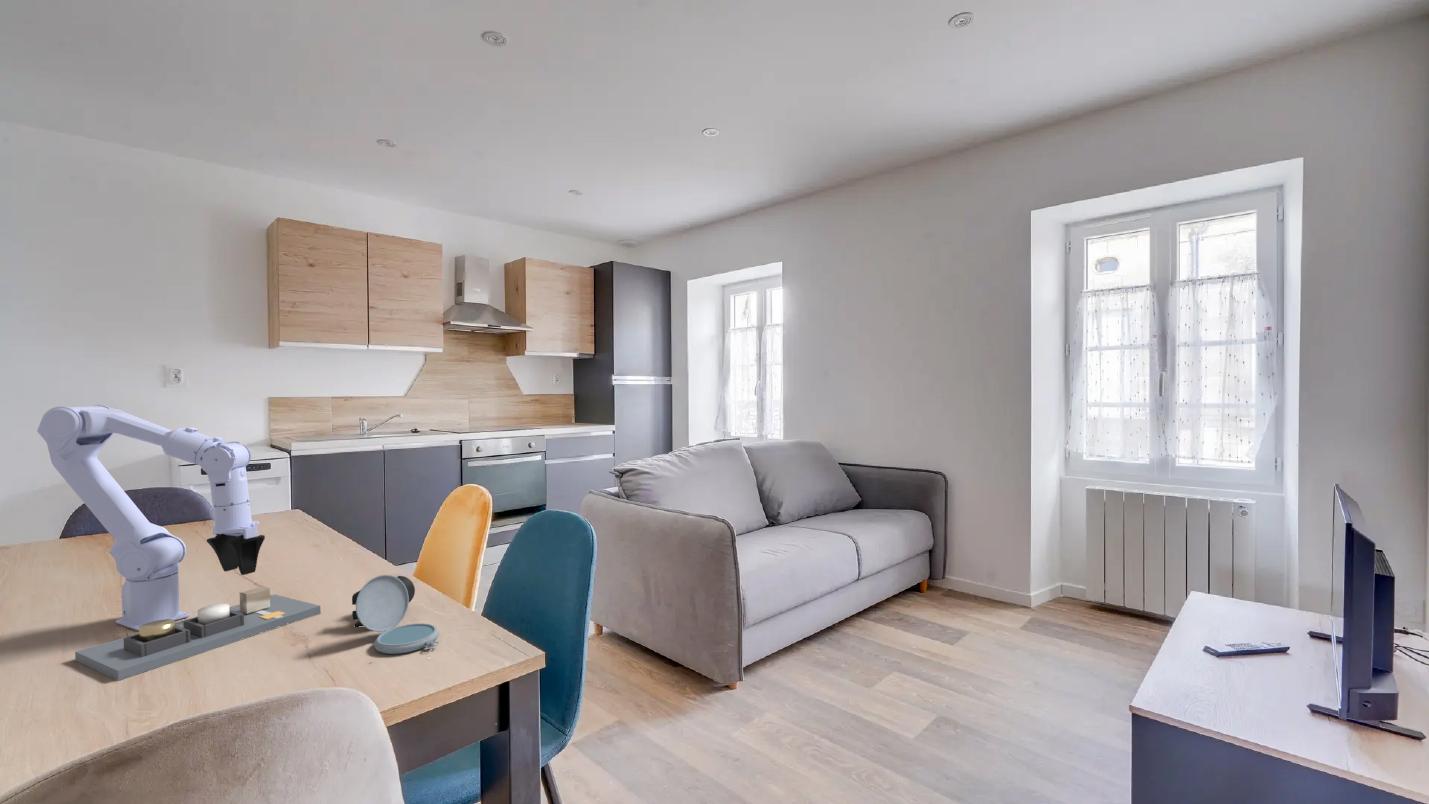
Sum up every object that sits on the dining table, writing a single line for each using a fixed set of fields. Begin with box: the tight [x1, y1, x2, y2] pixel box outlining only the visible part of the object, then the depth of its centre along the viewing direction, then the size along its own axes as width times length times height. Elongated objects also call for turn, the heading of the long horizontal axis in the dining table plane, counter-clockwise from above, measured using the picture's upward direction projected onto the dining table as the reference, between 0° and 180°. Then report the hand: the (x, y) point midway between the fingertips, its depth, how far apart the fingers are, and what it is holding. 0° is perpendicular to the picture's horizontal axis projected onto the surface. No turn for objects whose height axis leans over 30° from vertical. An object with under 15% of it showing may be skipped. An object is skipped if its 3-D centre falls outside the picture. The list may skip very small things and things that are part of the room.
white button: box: [197, 603, 230, 624], centre depth 108 cm, size 4×4×2 cm
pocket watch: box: [355, 574, 440, 655], centre depth 104 cm, size 10×11×15 cm
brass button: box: [138, 619, 176, 641], centre depth 101 cm, size 4×4×2 cm
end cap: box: [351, 575, 416, 628], centre depth 116 cm, size 10×7×7 cm
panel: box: [74, 594, 322, 681], centre depth 109 cm, size 16×30×4 cm, turn 153°
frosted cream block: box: [239, 585, 271, 614], centre depth 117 cm, size 2×4×4 cm, turn 153°
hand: (239, 571), depth 119 cm, fingers open, 7 cm apart
